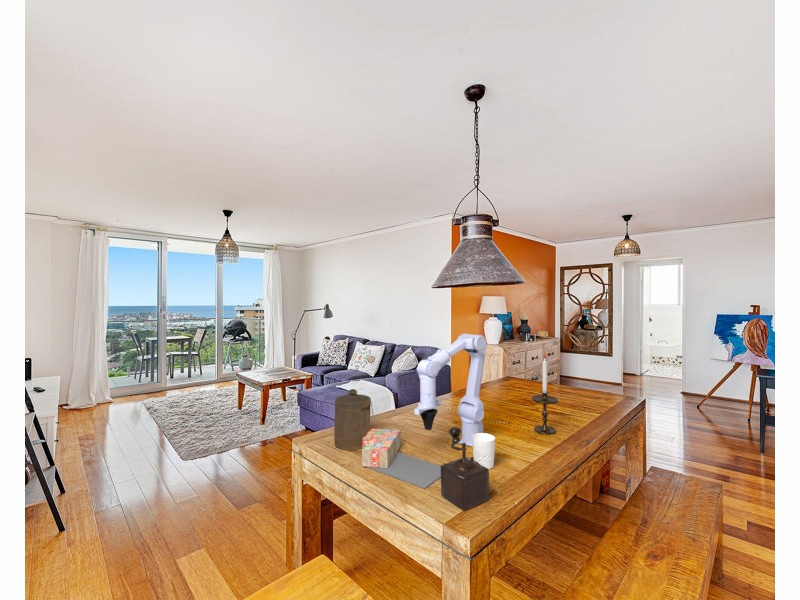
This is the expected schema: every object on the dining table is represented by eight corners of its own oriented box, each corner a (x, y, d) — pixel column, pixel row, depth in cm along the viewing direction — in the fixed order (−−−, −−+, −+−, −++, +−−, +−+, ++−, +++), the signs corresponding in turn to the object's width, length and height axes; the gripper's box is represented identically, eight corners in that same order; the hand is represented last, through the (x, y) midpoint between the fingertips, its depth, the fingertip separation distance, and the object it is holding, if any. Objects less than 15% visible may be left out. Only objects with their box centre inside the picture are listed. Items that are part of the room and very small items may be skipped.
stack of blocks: (387, 450, 131) (353, 448, 133) (388, 468, 131) (354, 466, 133) (400, 429, 152) (370, 428, 154) (401, 444, 152) (371, 443, 154)
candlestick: (560, 436, 160) (560, 353, 160) (533, 434, 162) (533, 353, 162) (555, 427, 171) (555, 349, 170) (530, 426, 173) (530, 349, 173)
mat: (396, 452, 145) (396, 451, 145) (451, 470, 130) (451, 468, 130) (368, 468, 132) (367, 466, 132) (424, 489, 118) (424, 487, 118)
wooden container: (378, 440, 157) (377, 387, 157) (355, 453, 145) (355, 396, 145) (350, 433, 165) (350, 383, 165) (326, 445, 153) (326, 390, 153)
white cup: (468, 465, 134) (467, 437, 134) (480, 458, 139) (480, 431, 139) (487, 472, 128) (487, 443, 128) (499, 465, 134) (499, 436, 134)
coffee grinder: (491, 499, 111) (491, 438, 111) (463, 512, 105) (463, 447, 105) (456, 478, 124) (455, 424, 124) (429, 488, 118) (429, 431, 118)
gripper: (429, 387, 149) (430, 421, 149) (407, 395, 137) (407, 432, 137) (445, 389, 144) (445, 425, 145) (423, 398, 133) (424, 436, 133)
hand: (428, 429), depth 141 cm, fingers closed
